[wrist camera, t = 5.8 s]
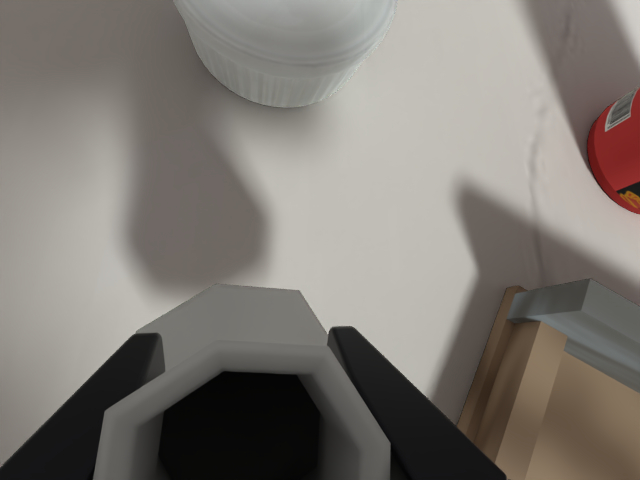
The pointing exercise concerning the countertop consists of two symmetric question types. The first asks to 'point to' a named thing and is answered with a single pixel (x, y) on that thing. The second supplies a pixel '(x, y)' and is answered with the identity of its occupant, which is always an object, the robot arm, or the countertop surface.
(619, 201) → the canned food
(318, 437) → the flask
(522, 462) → the stand
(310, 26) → the ramekin
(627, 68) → the countertop surface
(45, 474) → the robot arm
